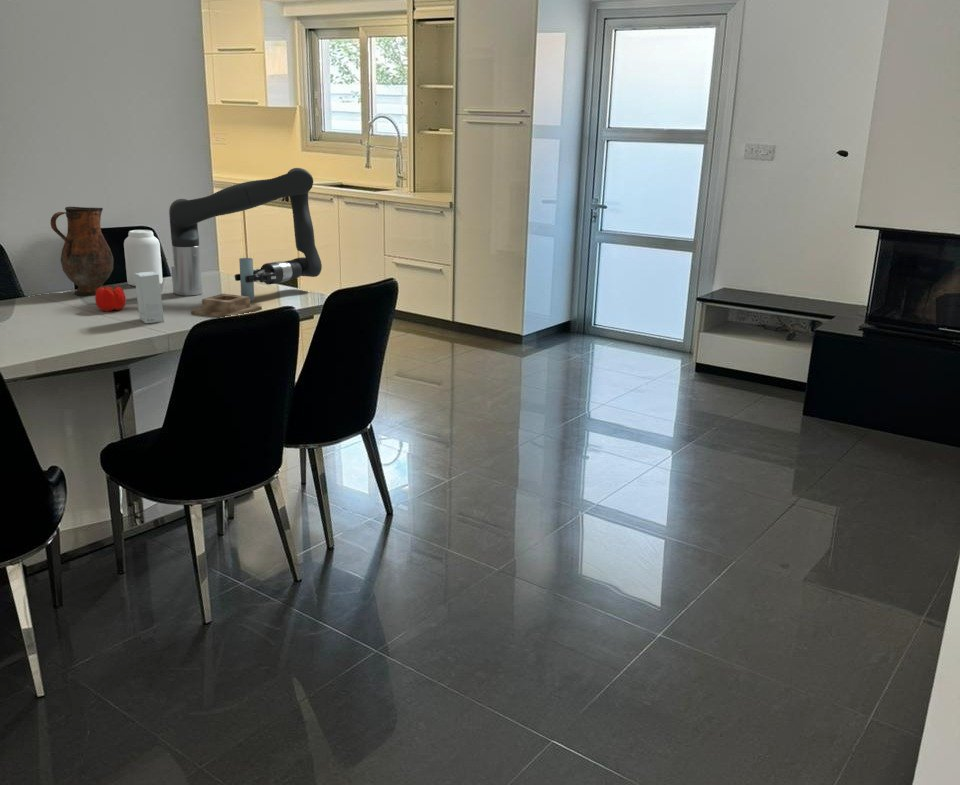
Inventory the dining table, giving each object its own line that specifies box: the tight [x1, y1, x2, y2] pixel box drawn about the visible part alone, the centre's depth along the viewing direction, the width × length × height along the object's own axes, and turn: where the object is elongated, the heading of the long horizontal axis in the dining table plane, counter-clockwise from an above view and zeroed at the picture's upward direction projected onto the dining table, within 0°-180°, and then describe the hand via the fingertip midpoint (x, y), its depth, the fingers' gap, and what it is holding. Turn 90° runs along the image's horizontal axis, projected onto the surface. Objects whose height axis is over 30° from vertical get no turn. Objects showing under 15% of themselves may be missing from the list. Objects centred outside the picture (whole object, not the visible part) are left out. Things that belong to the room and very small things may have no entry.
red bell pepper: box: [94, 286, 126, 312], centre depth 278 cm, size 9×9×8 cm
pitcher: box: [50, 206, 114, 297], centre depth 297 cm, size 17×21×30 cm
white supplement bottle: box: [123, 229, 164, 287], centre depth 320 cm, size 12×12×20 cm
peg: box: [238, 257, 255, 301], centre depth 295 cm, size 4×4×14 cm
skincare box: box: [134, 272, 165, 324], centre depth 264 cm, size 8×6×15 cm
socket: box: [190, 293, 263, 318], centre depth 282 cm, size 16×16×4 cm
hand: (241, 278), depth 293 cm, fingers closed on peg, 4 cm apart
